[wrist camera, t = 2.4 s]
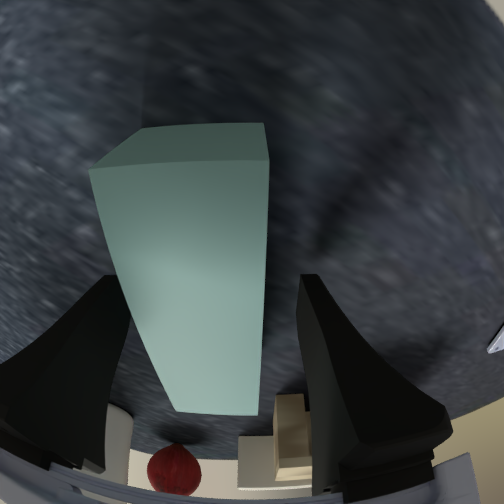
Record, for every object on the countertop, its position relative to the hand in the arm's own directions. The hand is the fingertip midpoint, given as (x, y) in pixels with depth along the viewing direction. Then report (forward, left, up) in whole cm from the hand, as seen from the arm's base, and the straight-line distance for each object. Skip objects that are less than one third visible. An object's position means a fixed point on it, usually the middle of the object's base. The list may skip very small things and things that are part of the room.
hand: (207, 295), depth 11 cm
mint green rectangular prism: (0, 0, -2) cm, 2 cm away
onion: (+7, +25, -2) cm, 26 cm away
